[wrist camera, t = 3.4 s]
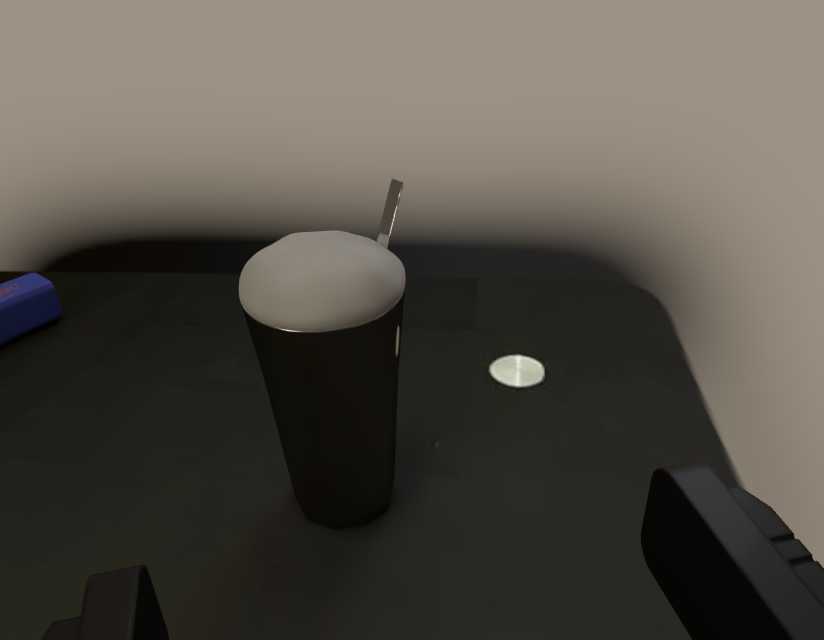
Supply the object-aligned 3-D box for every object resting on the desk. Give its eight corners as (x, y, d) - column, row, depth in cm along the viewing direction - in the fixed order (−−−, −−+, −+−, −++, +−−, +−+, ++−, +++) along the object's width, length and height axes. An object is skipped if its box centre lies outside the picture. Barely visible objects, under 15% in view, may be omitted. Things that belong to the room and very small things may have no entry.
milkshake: (458, 475, 25) (459, 200, 20) (339, 570, 22) (302, 274, 17) (366, 417, 28) (345, 162, 23) (248, 495, 25) (192, 219, 19)
